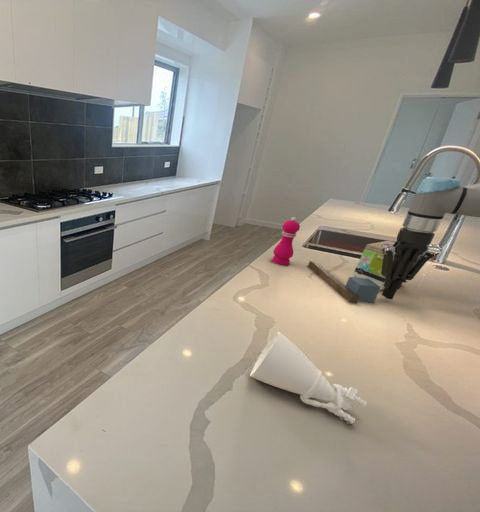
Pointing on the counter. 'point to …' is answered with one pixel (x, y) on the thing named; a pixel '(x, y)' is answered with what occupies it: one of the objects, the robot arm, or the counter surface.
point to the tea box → (372, 263)
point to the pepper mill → (286, 242)
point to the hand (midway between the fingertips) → (386, 296)
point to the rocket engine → (302, 377)
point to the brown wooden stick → (334, 282)
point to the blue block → (363, 288)
